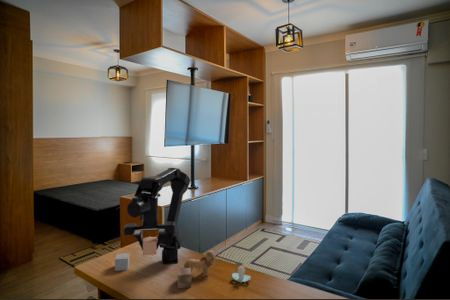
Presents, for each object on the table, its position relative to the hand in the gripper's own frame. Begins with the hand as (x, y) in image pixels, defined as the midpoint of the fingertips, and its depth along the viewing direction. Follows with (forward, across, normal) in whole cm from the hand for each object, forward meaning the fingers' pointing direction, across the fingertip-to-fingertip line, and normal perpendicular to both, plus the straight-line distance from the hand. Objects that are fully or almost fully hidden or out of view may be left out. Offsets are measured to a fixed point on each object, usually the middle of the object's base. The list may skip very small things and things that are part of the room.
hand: (150, 249), depth 106 cm
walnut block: (+12, -13, +6) cm, 19 cm away
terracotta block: (+1, 0, 0) cm, 1 cm away
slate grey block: (+12, +12, -11) cm, 20 cm away
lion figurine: (+12, -19, 0) cm, 23 cm away
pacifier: (+12, -36, +7) cm, 38 cm away
